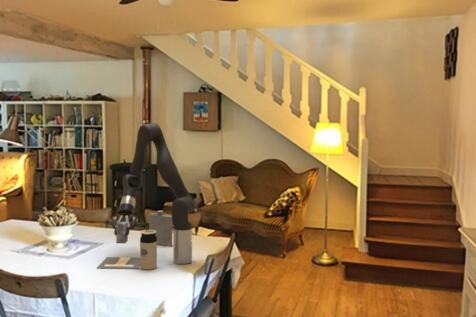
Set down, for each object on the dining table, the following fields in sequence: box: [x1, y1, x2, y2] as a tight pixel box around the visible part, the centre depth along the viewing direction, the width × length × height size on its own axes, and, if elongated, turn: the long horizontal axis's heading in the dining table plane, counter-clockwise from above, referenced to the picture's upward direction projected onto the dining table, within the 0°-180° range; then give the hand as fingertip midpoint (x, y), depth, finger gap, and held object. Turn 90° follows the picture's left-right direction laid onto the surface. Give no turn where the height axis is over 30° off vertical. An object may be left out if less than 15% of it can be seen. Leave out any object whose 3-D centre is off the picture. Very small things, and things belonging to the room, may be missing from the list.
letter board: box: [96, 256, 140, 270], centre depth 216 cm, size 20×17×1 cm
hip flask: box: [148, 210, 173, 247], centre depth 250 cm, size 16×4×20 cm, turn 61°
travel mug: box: [139, 229, 158, 271], centre depth 209 cm, size 8×8×18 cm
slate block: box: [115, 222, 129, 244], centre depth 216 cm, size 4×4×10 cm
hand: (121, 235), depth 214 cm, fingers closed on slate block, 4 cm apart
